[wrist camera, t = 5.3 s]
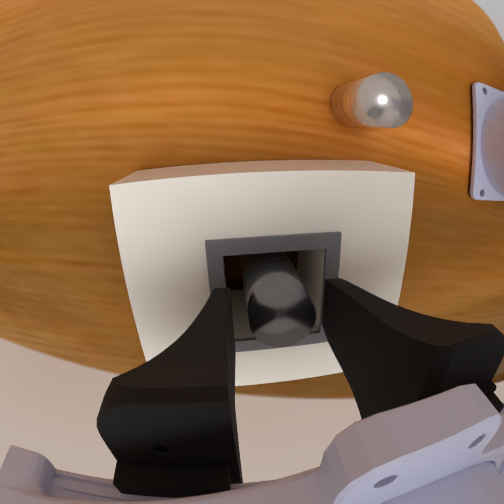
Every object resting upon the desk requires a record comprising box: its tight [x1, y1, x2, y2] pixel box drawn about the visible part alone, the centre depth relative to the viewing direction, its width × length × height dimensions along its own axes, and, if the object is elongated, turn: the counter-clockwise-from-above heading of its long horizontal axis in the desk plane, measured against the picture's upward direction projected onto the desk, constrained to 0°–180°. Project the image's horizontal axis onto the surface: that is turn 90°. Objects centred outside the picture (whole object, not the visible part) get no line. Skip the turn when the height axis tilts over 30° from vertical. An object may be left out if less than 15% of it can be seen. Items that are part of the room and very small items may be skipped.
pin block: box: [109, 160, 415, 386], centre depth 15 cm, size 12×10×5 cm
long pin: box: [239, 252, 316, 347], centre depth 14 cm, size 2×2×6 cm
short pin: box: [330, 72, 413, 128], centre depth 13 cm, size 2×2×4 cm
